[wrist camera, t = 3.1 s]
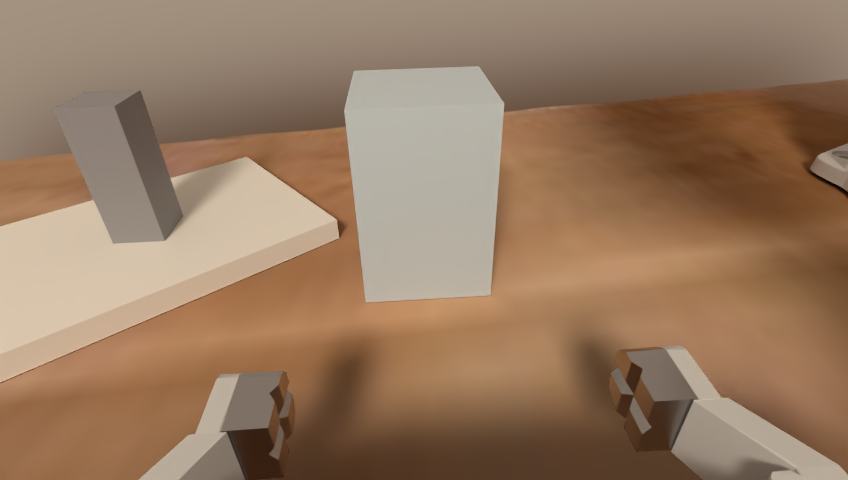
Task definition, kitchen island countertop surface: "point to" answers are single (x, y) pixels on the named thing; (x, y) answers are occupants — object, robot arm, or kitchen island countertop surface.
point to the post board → (143, 275)
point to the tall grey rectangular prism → (425, 180)
